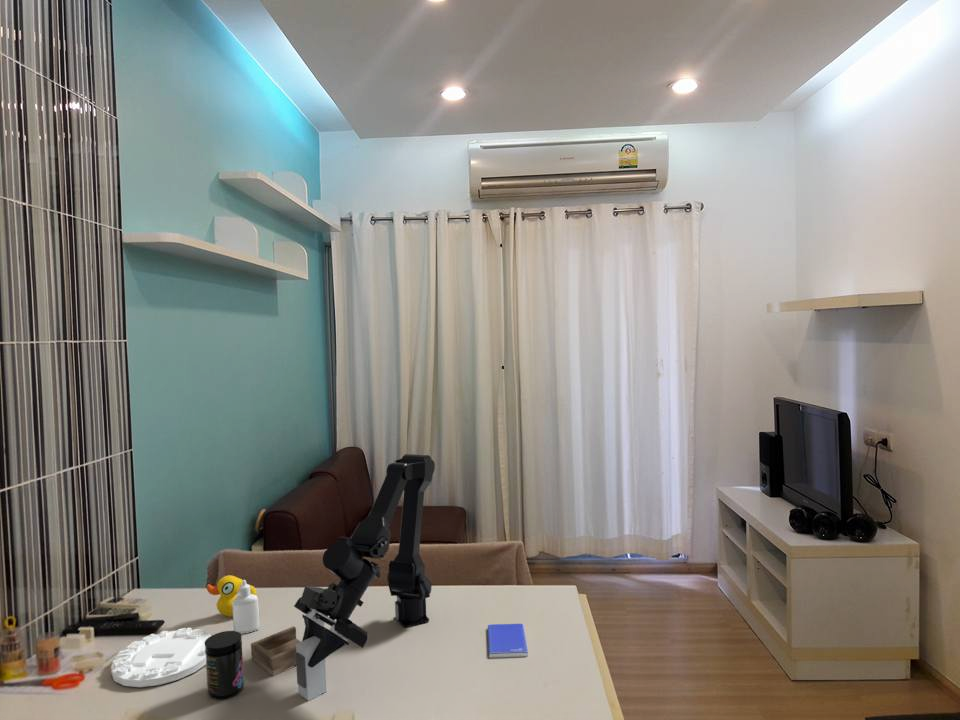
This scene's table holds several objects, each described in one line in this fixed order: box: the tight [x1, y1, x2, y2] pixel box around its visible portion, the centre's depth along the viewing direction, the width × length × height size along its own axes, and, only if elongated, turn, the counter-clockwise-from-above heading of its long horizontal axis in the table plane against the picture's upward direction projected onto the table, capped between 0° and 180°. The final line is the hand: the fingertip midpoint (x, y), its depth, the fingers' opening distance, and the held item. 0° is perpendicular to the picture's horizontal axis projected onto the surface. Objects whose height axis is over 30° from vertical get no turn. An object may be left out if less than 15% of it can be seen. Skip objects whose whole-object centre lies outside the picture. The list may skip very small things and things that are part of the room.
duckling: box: [206, 574, 258, 618], centre depth 155 cm, size 11×5×10 cm, turn 114°
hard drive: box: [487, 623, 529, 659], centre depth 138 cm, size 2×8×12 cm
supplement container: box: [205, 630, 245, 700], centre depth 122 cm, size 7×7×10 cm
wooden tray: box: [250, 626, 302, 677], centre depth 134 cm, size 10×10×4 cm
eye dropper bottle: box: [232, 579, 260, 635], centre depth 147 cm, size 4×6×12 cm
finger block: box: [295, 636, 328, 702], centre depth 121 cm, size 4×4×10 cm
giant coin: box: [110, 627, 212, 688], centre depth 134 cm, size 20×20×3 cm
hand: (304, 662), depth 120 cm, fingers closed on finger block, 3 cm apart
